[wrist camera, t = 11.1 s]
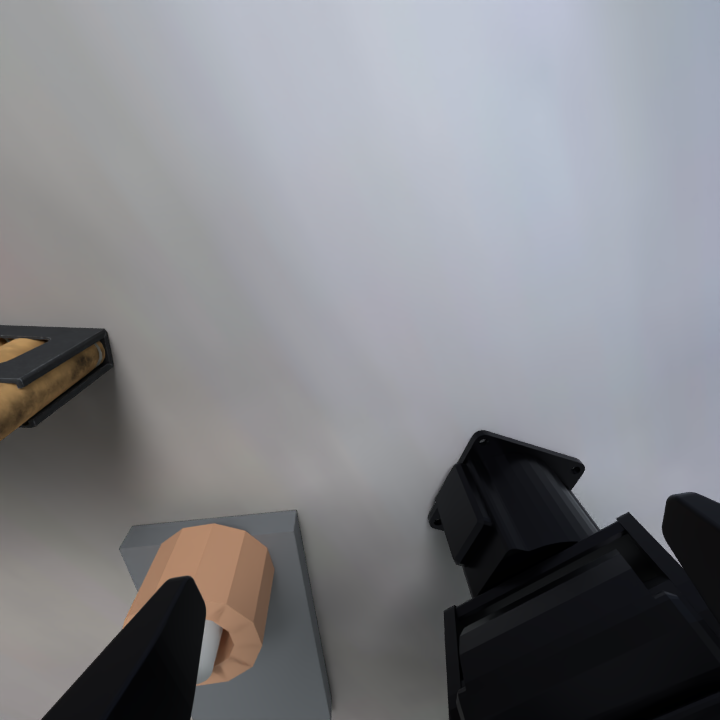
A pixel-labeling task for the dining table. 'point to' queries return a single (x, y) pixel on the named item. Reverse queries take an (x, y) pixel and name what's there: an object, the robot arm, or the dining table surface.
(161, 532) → the board
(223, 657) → the ring
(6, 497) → the dining table surface
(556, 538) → the robot arm
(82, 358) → the ammunition clip
